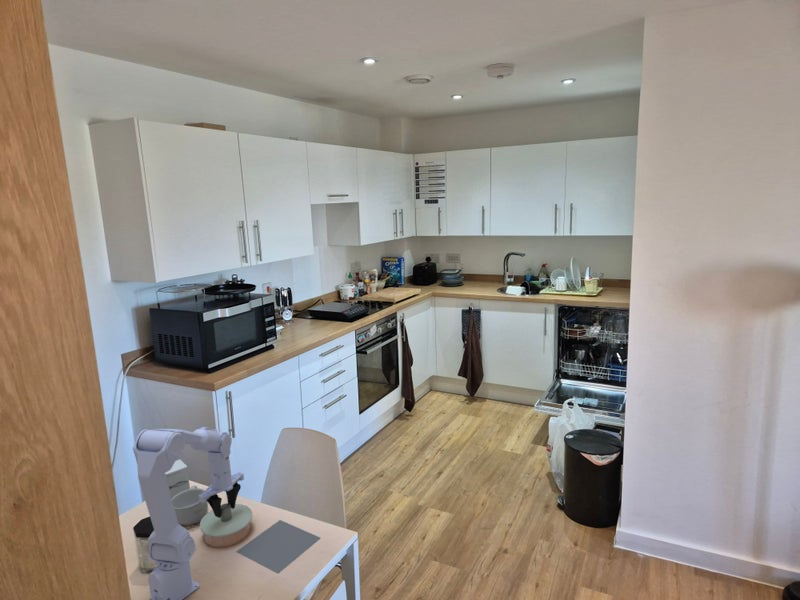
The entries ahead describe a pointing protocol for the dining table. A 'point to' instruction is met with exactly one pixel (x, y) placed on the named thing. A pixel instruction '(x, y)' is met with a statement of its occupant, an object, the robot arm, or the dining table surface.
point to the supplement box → (177, 478)
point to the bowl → (227, 538)
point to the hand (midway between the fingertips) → (225, 511)
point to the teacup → (189, 506)
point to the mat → (278, 546)
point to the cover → (226, 520)
